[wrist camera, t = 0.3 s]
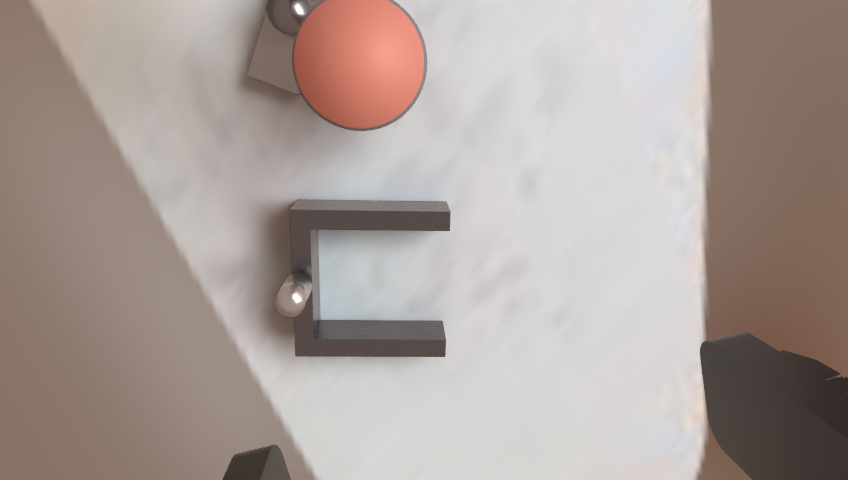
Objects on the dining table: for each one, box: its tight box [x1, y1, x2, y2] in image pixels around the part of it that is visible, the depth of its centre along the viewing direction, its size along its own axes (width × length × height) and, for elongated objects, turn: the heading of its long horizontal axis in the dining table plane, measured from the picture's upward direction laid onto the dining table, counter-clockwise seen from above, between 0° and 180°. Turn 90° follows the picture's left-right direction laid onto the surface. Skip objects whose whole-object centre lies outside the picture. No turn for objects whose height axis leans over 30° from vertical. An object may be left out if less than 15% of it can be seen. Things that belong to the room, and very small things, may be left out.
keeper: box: [274, 200, 450, 357], centre depth 30 cm, size 8×8×5 cm
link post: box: [292, 0, 427, 131], centre depth 23 cm, size 4×4×12 cm
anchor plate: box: [247, 0, 322, 94], centre depth 27 cm, size 7×2×2 cm, turn 159°
